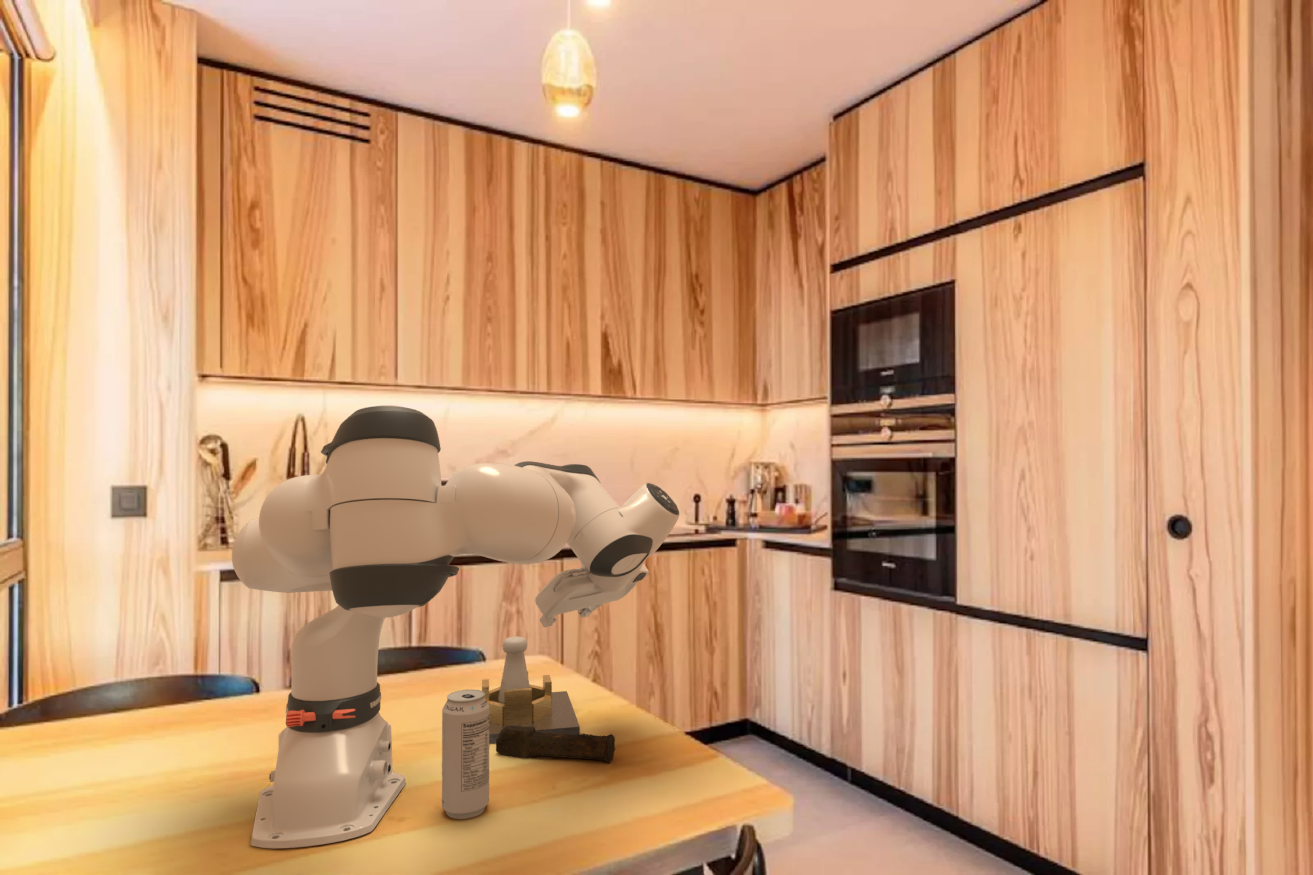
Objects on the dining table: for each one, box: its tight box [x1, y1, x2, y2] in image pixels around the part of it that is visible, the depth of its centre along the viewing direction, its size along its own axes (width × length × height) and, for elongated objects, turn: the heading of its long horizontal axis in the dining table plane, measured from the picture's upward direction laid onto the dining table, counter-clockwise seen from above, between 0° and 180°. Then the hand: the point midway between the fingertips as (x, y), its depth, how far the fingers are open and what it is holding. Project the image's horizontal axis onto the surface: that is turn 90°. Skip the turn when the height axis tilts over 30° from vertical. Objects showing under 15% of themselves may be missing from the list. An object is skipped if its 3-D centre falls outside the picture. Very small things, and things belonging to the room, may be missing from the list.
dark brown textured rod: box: [495, 726, 616, 765], centre depth 115 cm, size 19×4×5 cm, turn 79°
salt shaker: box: [498, 635, 530, 704], centre depth 132 cm, size 6×6×13 cm
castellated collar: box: [481, 670, 581, 745], centre depth 131 cm, size 20×20×7 cm
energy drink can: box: [441, 688, 490, 820], centre depth 97 cm, size 6×6×15 cm
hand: (564, 618), depth 126 cm, fingers open, 8 cm apart
